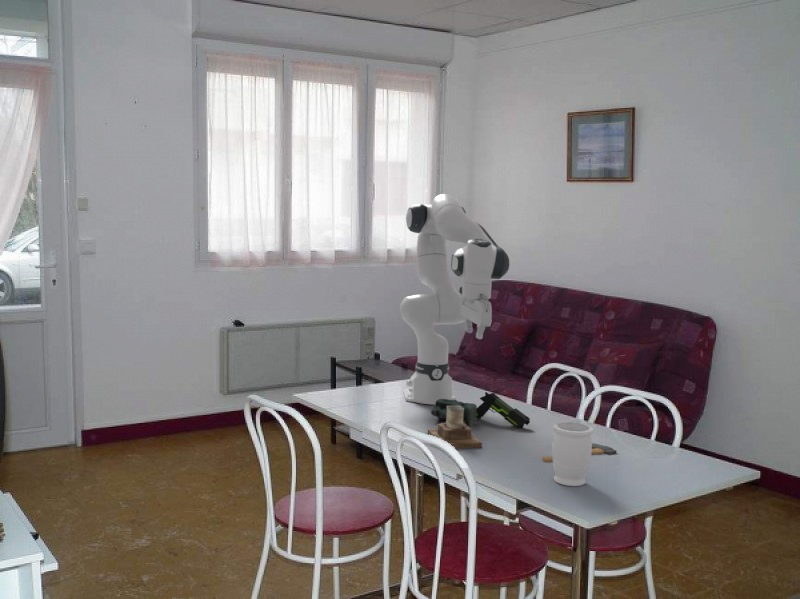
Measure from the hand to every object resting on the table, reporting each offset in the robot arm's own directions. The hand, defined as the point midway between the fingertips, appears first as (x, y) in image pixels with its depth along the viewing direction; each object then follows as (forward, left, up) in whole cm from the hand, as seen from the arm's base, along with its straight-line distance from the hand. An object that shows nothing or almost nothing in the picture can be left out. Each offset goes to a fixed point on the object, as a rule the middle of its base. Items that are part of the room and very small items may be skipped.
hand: (474, 335), depth 263 cm
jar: (+48, +11, -31) cm, 59 cm away
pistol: (-9, +14, -32) cm, 36 cm away
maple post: (+8, -8, -30) cm, 32 cm away
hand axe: (+26, +24, -32) cm, 47 cm away
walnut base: (+8, -8, -31) cm, 33 cm away
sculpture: (-13, 0, -32) cm, 34 cm away
